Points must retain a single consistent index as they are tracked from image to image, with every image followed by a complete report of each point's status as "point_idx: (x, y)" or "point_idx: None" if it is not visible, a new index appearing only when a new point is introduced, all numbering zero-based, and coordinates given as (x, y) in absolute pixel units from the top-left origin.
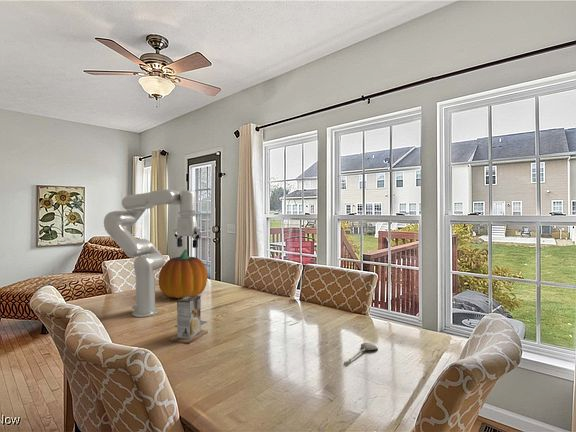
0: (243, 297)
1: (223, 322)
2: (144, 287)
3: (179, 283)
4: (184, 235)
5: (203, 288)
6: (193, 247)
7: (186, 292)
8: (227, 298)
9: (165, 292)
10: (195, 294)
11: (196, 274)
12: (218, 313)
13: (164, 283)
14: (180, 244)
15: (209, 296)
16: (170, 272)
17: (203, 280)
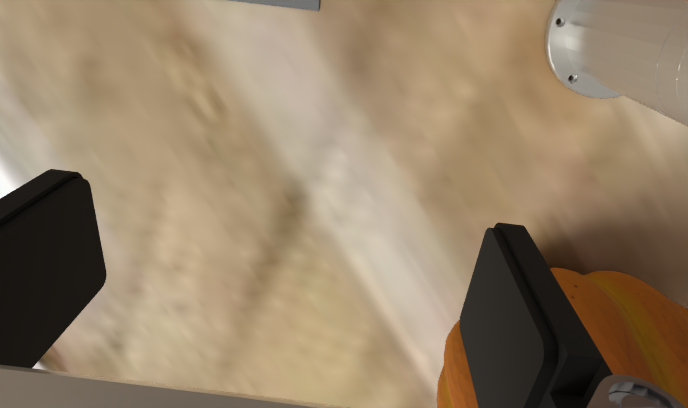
0: (256, 356)
1: (126, 13)
2: None
3: None
4: (109, 387)
5: (443, 366)
6: (57, 170)
7: None
8: (316, 333)
9: (624, 273)
10: None
11: (474, 397)
12: (230, 133)
13: (657, 300)
14: (482, 311)
15: (412, 343)
16: (660, 369)
17: (445, 396)
